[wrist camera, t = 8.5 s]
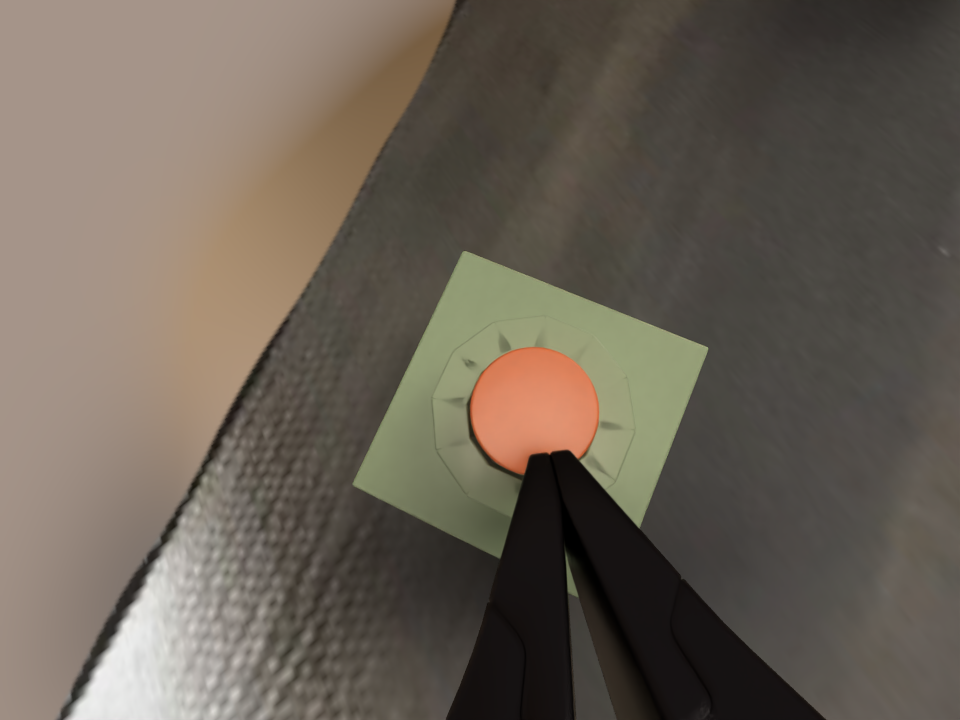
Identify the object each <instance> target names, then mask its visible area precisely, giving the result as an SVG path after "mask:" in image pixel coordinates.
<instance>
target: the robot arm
mask: <svg viewBox="0 0 960 720" xmlns="http://www.w3.org/2000/svg"><path fill="white" fill-rule="evenodd" d="M565 552H566V554H565ZM566 557H567V561H568V564H569V568H570V571H571V574H572V577H573V581H574V584H575V587H576V590H577V593H578V597H579V600H580V603H581V606H582V609H583V613H584V616H585V619H586V622H587V625H588V629H589V632H590V635H591V638H592V641H593V645H594V648H595V651H596V654H597V657H598V661H599V664H600V667H601V670H602V673H603V677H604V680H605V683H606V686H607V689H608V693H609V696H610V699H611V702H612V705H613V709H614V712H615V715H616V718H617V720H826V719H825V718H824V717H823V716H822V715H821V714H820V713H819V712H817V711H816V710H815V709H814V708H813V707H812V706H811V705H810V704H809V703H808V702H807V701H806V700H805V699H804V698H803V697H801V696H800V695H799V694H798V693H797V692H796V691H795V690H794V689H793V688H792V687H791V686H790V685H789V684H788V683H787V682H785V681H784V680H783V679H782V678H781V677H780V676H779V675H778V674H777V673H776V672H775V671H774V670H773V669H772V668H770V667H769V666H768V665H767V664H766V663H765V662H764V661H763V660H762V659H761V658H760V657H759V656H758V655H757V654H756V653H754V652H753V651H752V650H751V649H750V648H749V647H748V646H747V645H746V644H745V643H744V642H743V641H742V640H741V639H740V638H739V637H738V636H737V635H736V634H735V633H734V632H733V631H732V630H731V629H730V628H729V627H728V626H727V625H726V624H725V623H724V622H723V621H722V620H721V619H720V618H719V617H718V616H717V615H716V614H715V612H714V611H713V610H712V609H711V608H710V607H709V606H708V605H707V604H706V603H705V602H704V601H703V600H702V599H701V597H700V596H699V595H698V594H697V593H696V592H695V591H694V590H693V588H692V587H691V586H690V585H689V584H688V583H687V582H686V580H684V579H682V580H681V575H680V574H679V573H678V572H677V571H676V569H675V568H674V567H673V566H672V565H671V564H670V563H669V561H668V560H667V559H666V558H665V557H664V556H663V555H662V554H661V552H660V551H659V550H658V549H657V548H656V547H655V546H654V545H653V543H652V542H651V541H650V540H649V539H648V538H647V537H646V535H645V534H644V533H643V532H642V531H641V530H640V529H639V528H638V526H637V525H636V524H635V523H634V522H633V521H632V520H631V518H630V517H629V516H628V515H627V514H626V513H625V512H624V511H623V509H622V508H621V507H620V506H619V505H618V504H617V503H616V501H615V500H614V499H613V498H612V497H611V496H610V495H609V494H608V492H607V491H606V490H605V489H604V488H603V487H602V486H601V484H600V483H599V482H598V481H597V480H596V479H595V478H594V477H593V475H592V474H591V473H590V472H589V471H588V470H587V469H586V468H585V466H584V465H583V464H582V463H581V462H580V461H579V460H578V458H577V457H576V456H575V455H574V454H573V453H572V452H571V451H570V450H568V449H565V450H558V451H552V452H551V453H550V454H549V453H547V452H543V453H535V454H531V455H530V456H529V458H528V462H527V465H526V469H525V473H524V476H523V480H522V483H521V487H520V490H519V494H518V497H517V501H516V504H515V508H514V512H513V515H512V519H511V522H510V526H509V529H508V533H507V536H506V540H505V544H504V547H503V551H502V554H501V558H500V561H499V565H498V568H497V572H496V575H495V579H494V583H493V586H492V590H491V593H490V597H489V601H490V602H488V603H487V607H486V610H485V614H484V617H483V621H482V624H481V627H480V630H479V633H478V637H477V640H476V643H475V646H474V649H473V652H472V655H471V658H470V660H469V663H468V665H467V668H466V671H465V673H464V676H463V679H462V681H461V684H460V686H459V689H458V691H457V693H456V696H455V698H454V701H453V703H452V705H451V708H450V710H449V713H448V715H447V717H446V720H576V706H575V690H574V675H573V659H572V644H571V628H570V613H569V597H568V582H567V567H566Z"/></svg>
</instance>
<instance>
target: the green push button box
mask: <svg viewBox="0 0 960 720" xmlns="http://www.w3.org/2000/svg"><path fill="white" fill-rule="evenodd" d="M525 347H543V348H548V349H552V350H555V351H558V352H560V353H562V354H564V355H566V356H568V357H569V358H571V359H572V360H574V361H575V362H576V363H577V364H578V365H579V366H580V367H581V368H582V369H583V370H584V371H585V372H586V374H587V375H588V377H589V378H590V380H591V382H592V384H593V386H594V388H595V391H596V393H597V397H598V402H599V423H598V428H597V431H596V434H595V437H594V439H593V441H592V443H591V445H590V446H589V448H588V449H587V451H586V452H585V453H584V454H583V456H582V457H581V458H580V459H579V461H580V462H581V463H582V464H583V465H584V466H585V468H586V469H587V470H588V471H589V472H590V473H591V474H592V475H593V477H594V478H595V479H596V480H597V481H598V482H599V483H600V484H601V486H602V487H603V488H604V489H605V490H606V491H607V492H608V494H609V495H610V496H611V497H612V498H613V499H614V500H615V501H616V503H617V504H618V505H619V506H620V507H621V508H622V509H623V511H624V512H625V513H626V514H627V515H628V516H629V517H630V518H631V520H632V521H633V522H634V523H635V524H636V525H637V526H638V528H640V525H641V523H642V520H643V518H644V515H645V512H646V510H647V507H648V505H649V502H650V499H651V497H652V494H653V492H654V489H655V486H656V484H657V481H658V479H659V476H660V473H661V471H662V468H663V466H664V463H665V461H666V458H667V455H668V453H669V450H670V448H671V445H672V442H673V440H674V437H675V435H676V432H677V429H678V427H679V424H680V422H681V419H682V416H683V414H684V411H685V409H686V406H687V403H688V401H689V398H690V396H691V393H692V391H693V388H694V385H695V383H696V380H697V378H698V375H699V372H700V370H701V367H702V365H703V362H704V359H705V357H706V354H707V352H708V348H707V347H705V346H703V345H700V344H698V343H695V342H693V341H690V340H688V339H685V338H683V337H680V336H678V335H675V334H673V333H670V332H668V331H665V330H663V329H660V328H658V327H655V326H653V325H650V324H648V323H645V322H642V321H640V320H637V319H635V318H632V317H630V316H627V315H625V314H622V313H620V312H617V311H615V310H612V309H610V308H607V307H605V306H602V305H600V304H597V303H595V302H592V301H590V300H587V299H585V298H582V297H580V296H577V295H575V294H572V293H570V292H567V291H565V290H562V289H560V288H557V287H555V286H552V285H550V284H547V283H544V282H542V281H539V280H537V279H534V278H532V277H529V276H527V275H524V274H522V273H519V272H517V271H514V270H512V269H509V268H507V267H504V266H502V265H499V264H497V263H494V262H492V261H489V260H487V259H484V258H482V257H479V256H477V255H474V254H472V253H469V252H467V251H463V252H462V254H461V256H460V259H459V261H458V263H457V265H456V267H455V269H454V271H453V273H452V275H451V277H450V280H449V282H448V284H447V286H446V288H445V290H444V292H443V294H442V296H441V299H440V301H439V303H438V305H437V307H436V309H435V311H434V313H433V315H432V317H431V320H430V322H429V324H428V326H427V328H426V330H425V332H424V334H423V336H422V338H421V341H420V343H419V345H418V347H417V349H416V351H415V353H414V355H413V357H412V359H411V362H410V364H409V366H408V368H407V370H406V372H405V374H404V376H403V378H402V380H401V383H400V385H399V387H398V389H397V391H396V393H395V395H394V397H393V399H392V402H391V404H390V406H389V408H388V410H387V412H386V414H385V416H384V418H383V420H382V423H381V425H380V427H379V429H378V431H377V433H376V435H375V437H374V439H373V441H372V444H371V446H370V448H369V450H368V452H367V454H366V456H365V458H364V460H363V462H362V465H361V467H360V469H359V471H358V473H357V475H356V477H355V479H354V481H353V486H354V487H356V488H358V489H360V490H362V491H364V492H366V493H368V494H370V495H372V496H374V497H376V498H378V499H380V500H382V501H384V502H386V503H388V504H390V505H392V506H394V507H396V508H398V509H400V510H402V511H404V512H406V513H408V514H410V515H412V516H414V517H416V518H418V519H420V520H422V521H424V522H426V523H428V524H430V525H432V526H434V527H436V528H438V529H440V530H442V531H444V532H447V533H449V534H451V535H453V536H455V537H457V538H459V539H461V540H463V541H465V542H467V543H469V544H471V545H473V546H475V547H477V548H479V549H481V550H483V551H485V552H487V553H489V554H491V555H493V556H495V557H497V558H499V559H500V558H501V554H502V551H503V547H504V544H505V540H506V536H507V533H508V529H509V526H510V522H511V519H512V515H513V512H514V508H515V504H516V501H517V497H518V494H519V490H520V487H521V483H522V480H523V476H524V475H522V474H518V473H515V472H512V471H510V470H507V469H505V468H504V467H502V466H500V465H499V464H497V463H496V462H495V461H493V460H492V459H491V458H490V457H489V456H488V455H487V454H486V452H485V451H484V450H483V449H482V447H481V446H480V444H479V442H478V441H477V439H476V436H475V434H474V431H473V428H472V424H471V418H470V403H471V397H472V393H473V390H474V387H475V384H476V382H477V380H478V379H479V377H480V375H481V374H482V373H483V371H484V370H485V369H486V368H487V367H488V366H489V364H491V363H492V362H493V361H494V360H495V359H497V358H498V357H500V356H502V355H503V354H505V353H507V352H510V351H512V350H516V349H519V348H525ZM565 554H566V552H565ZM566 567H567V582H568V593H569V594H571V595H573V596H575V597H577V598H579V597H578V593H577V590H576V587H575V584H574V581H573V577H572V574H571V571H570V568H569V564H568V561H567V557H566Z"/></svg>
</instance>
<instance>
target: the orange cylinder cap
mask: <svg viewBox="0 0 960 720" xmlns="http://www.w3.org/2000/svg"><path fill="white" fill-rule="evenodd" d="M470 418H471V424H472V428H473V431H474V434H475V436H476V439H477V441H478V442H479V444H480V446H481V447H482V449H483V450H484V451H485V452H486V454H487V455H488V456H489V457H490V458H491V459H492V460H493V461H495V462H496V463H497V464H499V465H500V466H502V467H504V468H505V469H507V470H510V471H512V472H515V473H518V474H522V475H524V473H525V469H526V465H527V462H528V458H529V456H530V455H531V454H535V453H543V452H547V453H549V454H550V453H551V452H552V451H558V450H565V449H568V450H570V451H571V452H572V453H573V454H574V455H575V456H576V457H577V458H578V460H579V459H580V458H581V457H582V456H583V454H584V453H585V452H586V451H587V449H588V448H589V446H590V445H591V443H592V441H593V439H594V437H595V434H596V431H597V428H598V423H599V402H598V397H597V393H596V391H595V388H594V386H593V384H592V382H591V380H590V378H589V377H588V375H587V374H586V372H585V371H584V370H583V369H582V368H581V367H580V366H579V365H578V364H577V363H576V362H575V361H574V360H572V359H571V358H569V357H568V356H566V355H564V354H562V353H560V352H558V351H555V350H552V349H548V348H543V347H525V348H519V349H516V350H512V351H510V352H507V353H505V354H503V355H502V356H500V357H498V358H497V359H495V360H494V361H493V362H492V363H491V364H489V366H488V367H487V368H486V369H485V370H484V371H483V373H482V374H481V375H480V377H479V379H478V380H477V382H476V384H475V387H474V390H473V393H472V397H471V403H470Z"/></svg>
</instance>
